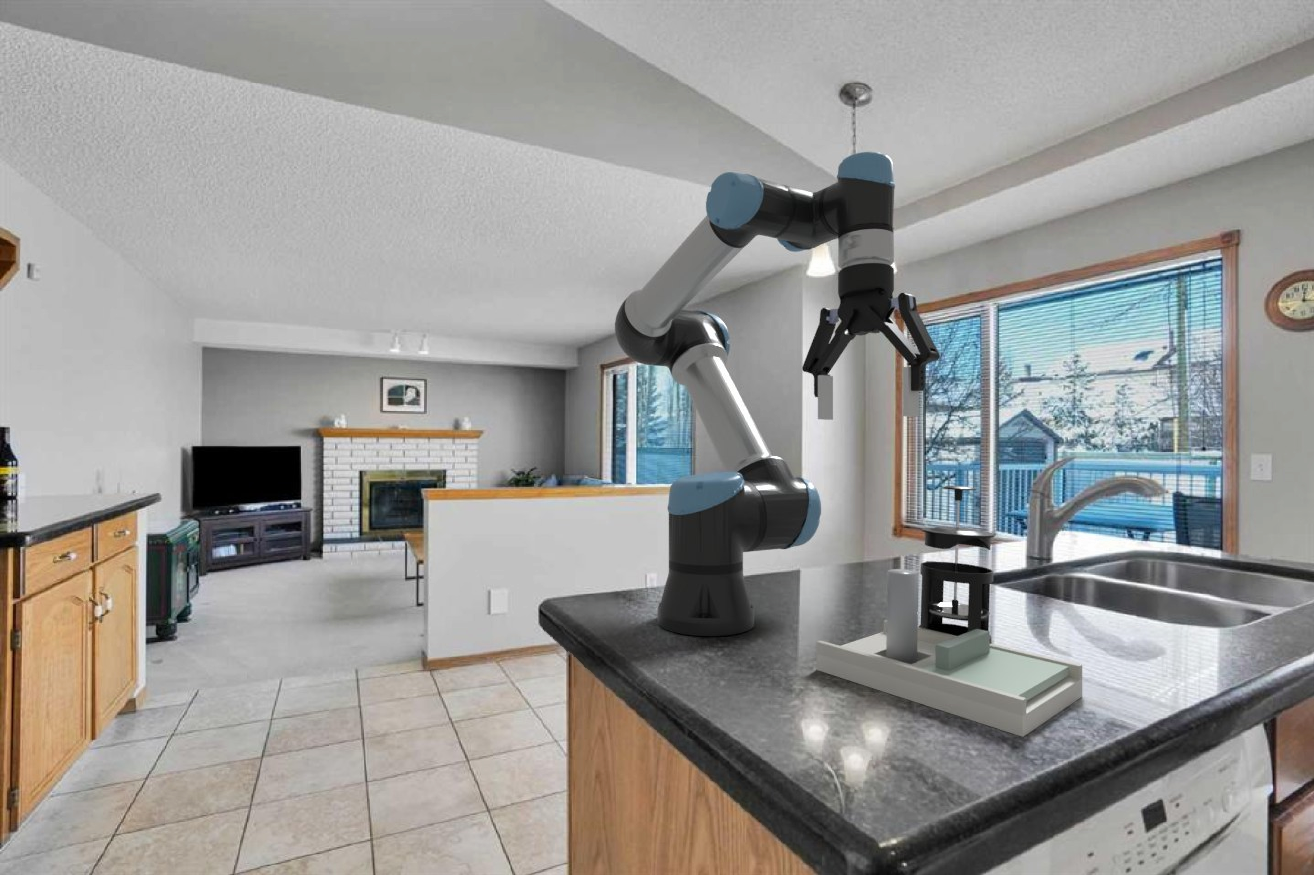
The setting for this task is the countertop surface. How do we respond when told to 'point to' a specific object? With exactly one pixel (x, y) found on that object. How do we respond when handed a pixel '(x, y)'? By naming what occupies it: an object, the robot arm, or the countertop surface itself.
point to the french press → (955, 579)
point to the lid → (994, 666)
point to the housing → (947, 682)
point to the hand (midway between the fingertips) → (865, 418)
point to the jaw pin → (902, 615)
